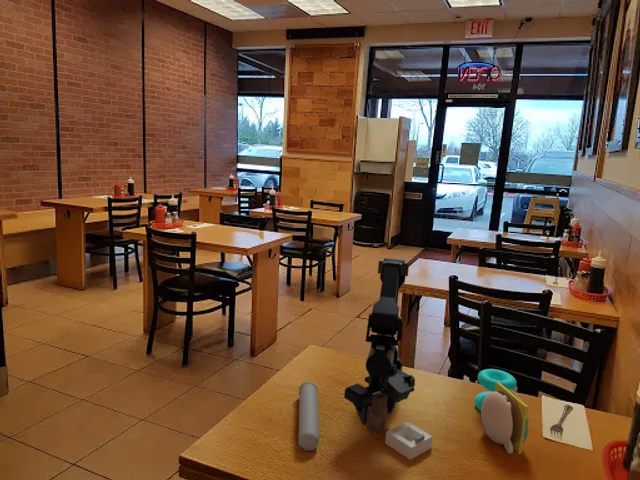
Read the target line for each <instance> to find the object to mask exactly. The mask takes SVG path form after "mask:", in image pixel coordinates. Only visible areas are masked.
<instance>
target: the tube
mask: <svg viewBox="0 0 640 480" xmlns="http://www.w3.org/2000/svg"><path fill="white" fill-rule="evenodd" d="M298 396H299V403H298V405H299V407H298V409H299V411H298V418H299V419H298V446H299V447H300V448H302V449H303V450H304V451H306V452H308V451H315V449H316V448H317V446H318V445H319V443H320V429H319V411H318V410H319V408H318V405H319V404H318V386H317V385H316V384H315V383H314V382H312V381H303V382H302V383H301V385H300V386H299V387H298Z"/></svg>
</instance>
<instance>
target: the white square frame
mask: <svg viewBox="0 0 640 480" xmlns="http://www.w3.org/2000/svg"><path fill="white" fill-rule="evenodd" d="M432 443H433V435H431V434H429V433H428V432H426V431H424V430H422V429H420V428H419V427H417V426H416V425H414V424H412V423H411V422H408V421H406V422H404V423H401V424H399V425H398V426H395V427H394V428H391V429H389V430H386V433H385V444H386V445H387V446H389V447H390V448H392V449H393V450H395V451H396V452H398V453H399V454H401V455H403V456H404V457H406V458H407V459H408V460H410V461H411V460H412V459H414V458H416V457H418V456H419V455H421V454H423V453H425V452H427V451H429V450H430V449H432Z"/></svg>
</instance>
